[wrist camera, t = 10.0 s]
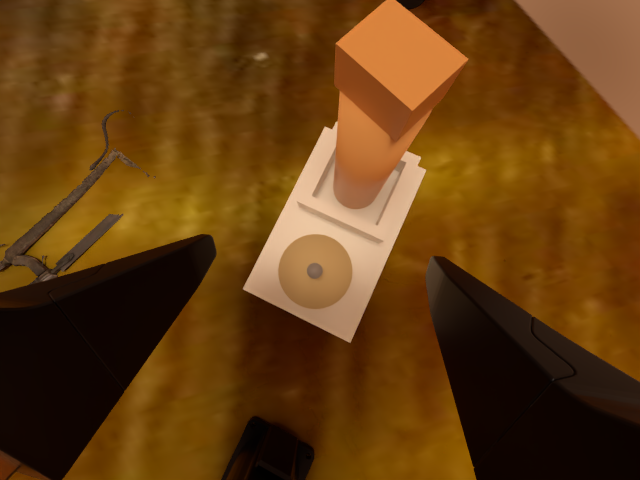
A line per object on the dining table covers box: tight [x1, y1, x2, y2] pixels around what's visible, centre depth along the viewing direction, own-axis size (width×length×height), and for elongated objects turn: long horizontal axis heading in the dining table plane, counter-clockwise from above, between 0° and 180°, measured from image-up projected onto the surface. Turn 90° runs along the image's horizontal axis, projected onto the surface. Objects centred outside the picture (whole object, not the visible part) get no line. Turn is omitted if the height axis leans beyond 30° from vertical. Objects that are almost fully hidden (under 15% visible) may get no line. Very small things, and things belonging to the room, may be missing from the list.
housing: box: [243, 122, 426, 343], centre depth 21 cm, size 18×11×5 cm, turn 155°
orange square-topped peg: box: [333, 0, 468, 209], centre depth 16 cm, size 4×4×14 cm
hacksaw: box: [0, 110, 155, 285], centre depth 24 cm, size 24×10×2 cm, turn 137°
